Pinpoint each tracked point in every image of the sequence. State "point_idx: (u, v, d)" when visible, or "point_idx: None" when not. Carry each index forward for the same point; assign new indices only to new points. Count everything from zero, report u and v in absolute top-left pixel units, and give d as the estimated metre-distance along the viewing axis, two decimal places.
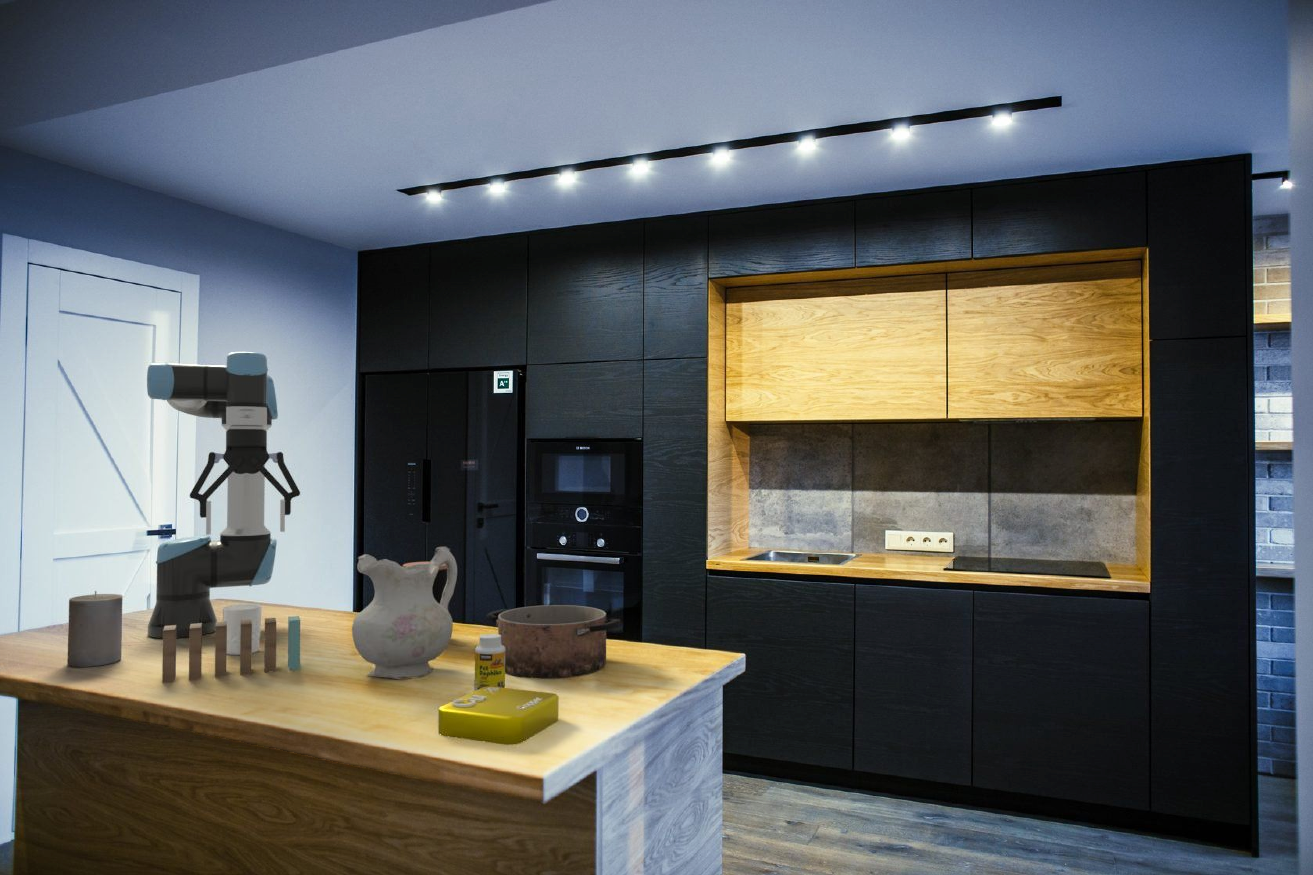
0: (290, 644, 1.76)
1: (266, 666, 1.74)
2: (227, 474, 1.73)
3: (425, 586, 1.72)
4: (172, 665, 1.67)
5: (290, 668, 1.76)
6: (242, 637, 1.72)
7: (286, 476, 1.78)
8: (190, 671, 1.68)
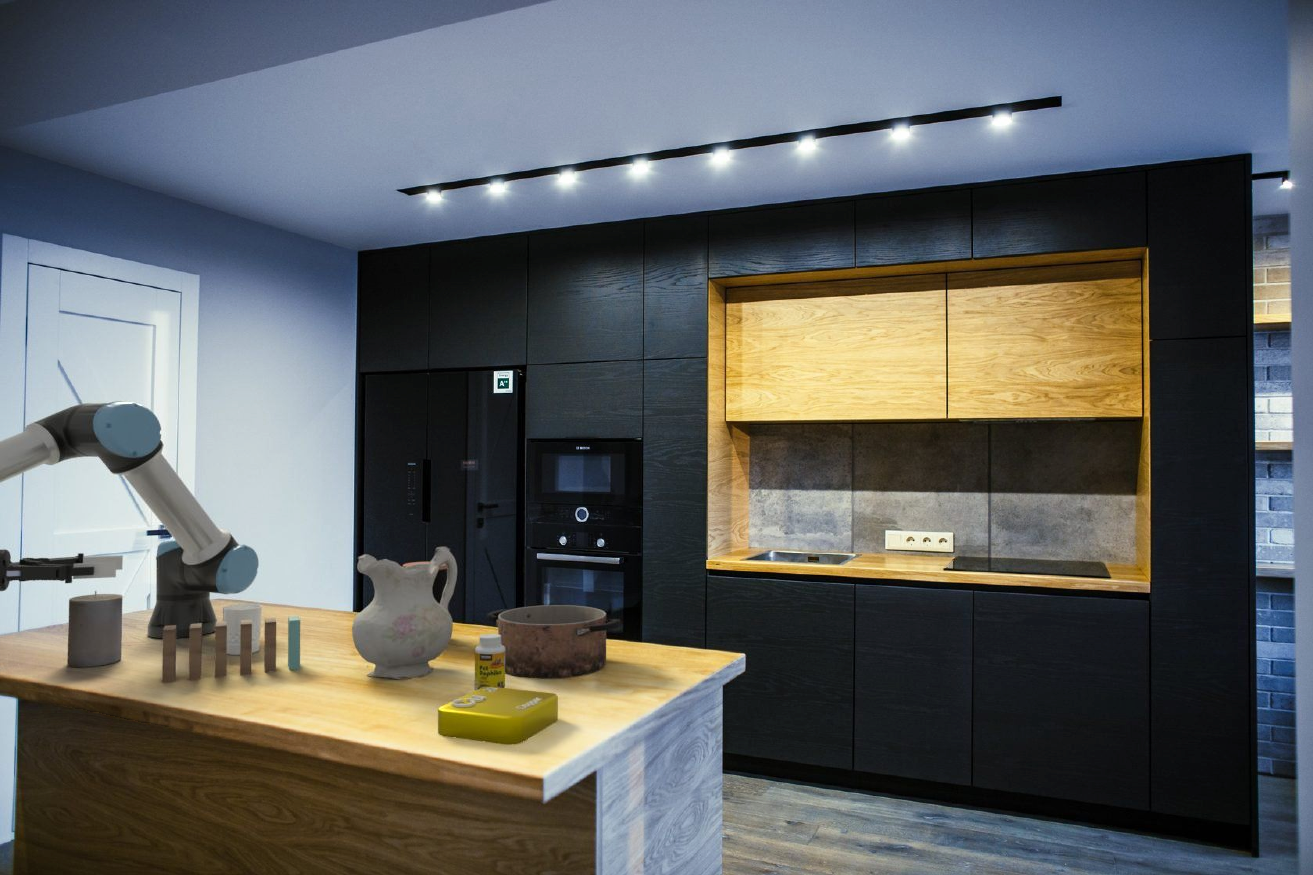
0: (290, 644, 1.76)
1: (266, 666, 1.74)
2: None
3: (425, 586, 1.72)
4: (172, 665, 1.67)
5: (290, 668, 1.76)
6: (242, 637, 1.72)
7: None
8: (190, 671, 1.68)
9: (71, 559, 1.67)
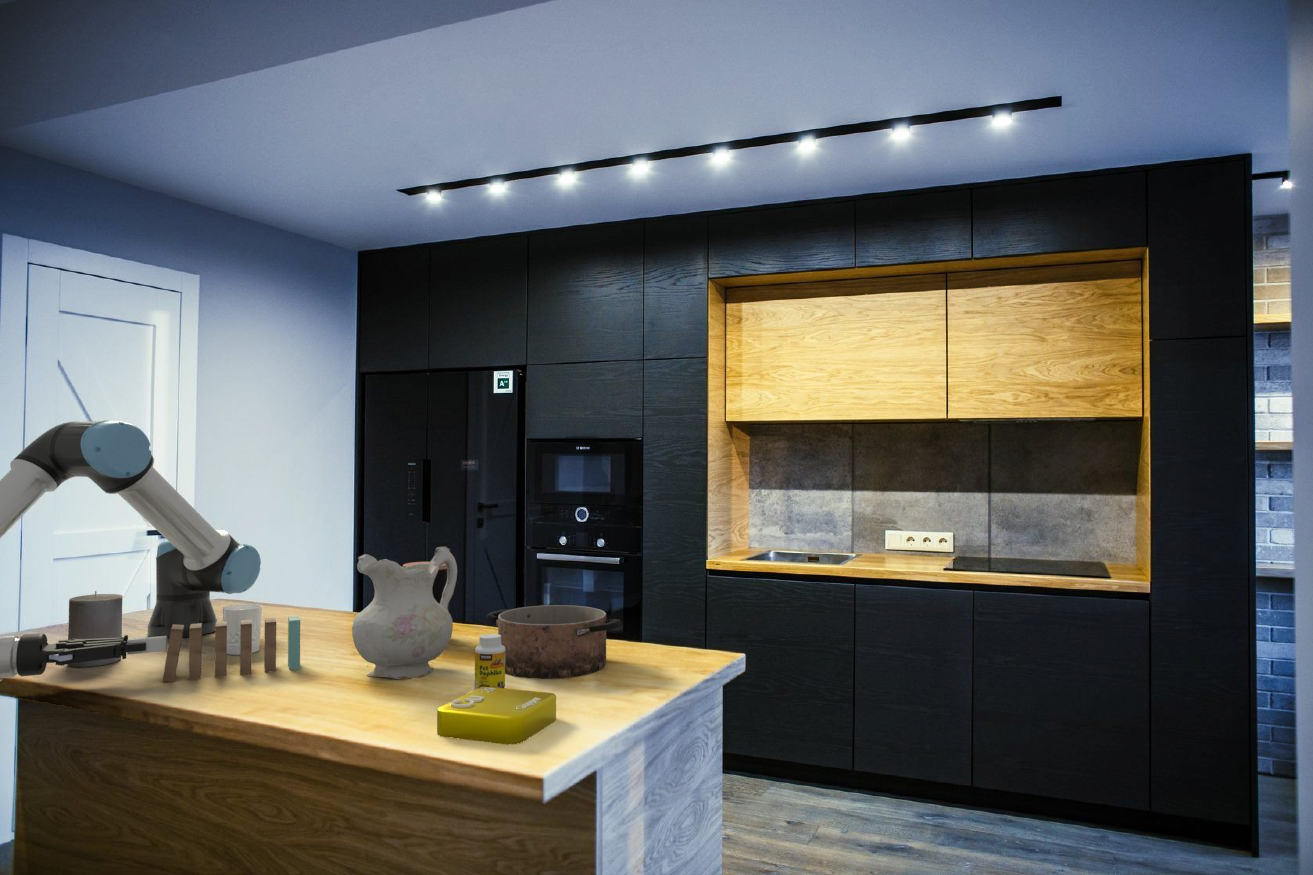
0: (290, 644, 1.76)
1: (266, 666, 1.74)
2: None
3: (425, 586, 1.72)
4: (175, 665, 1.67)
5: (290, 668, 1.76)
6: (242, 637, 1.72)
7: None
8: (190, 671, 1.68)
9: (111, 642, 1.65)
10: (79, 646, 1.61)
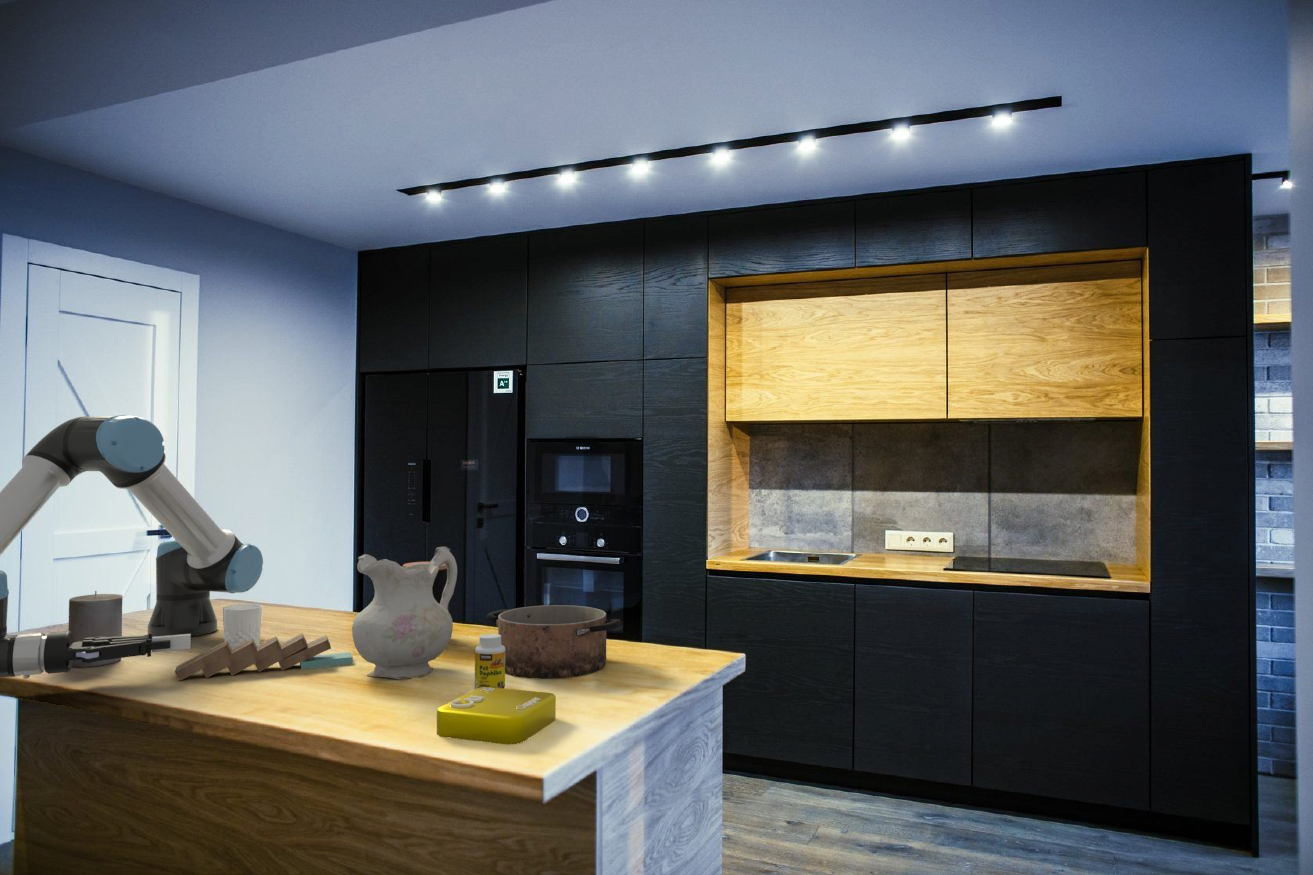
0: (328, 660, 1.79)
1: (284, 660, 1.76)
2: None
3: (425, 586, 1.72)
4: (195, 670, 1.69)
5: (302, 662, 1.77)
6: (291, 645, 1.76)
7: None
8: (210, 666, 1.70)
9: (136, 639, 1.67)
10: (105, 644, 1.63)
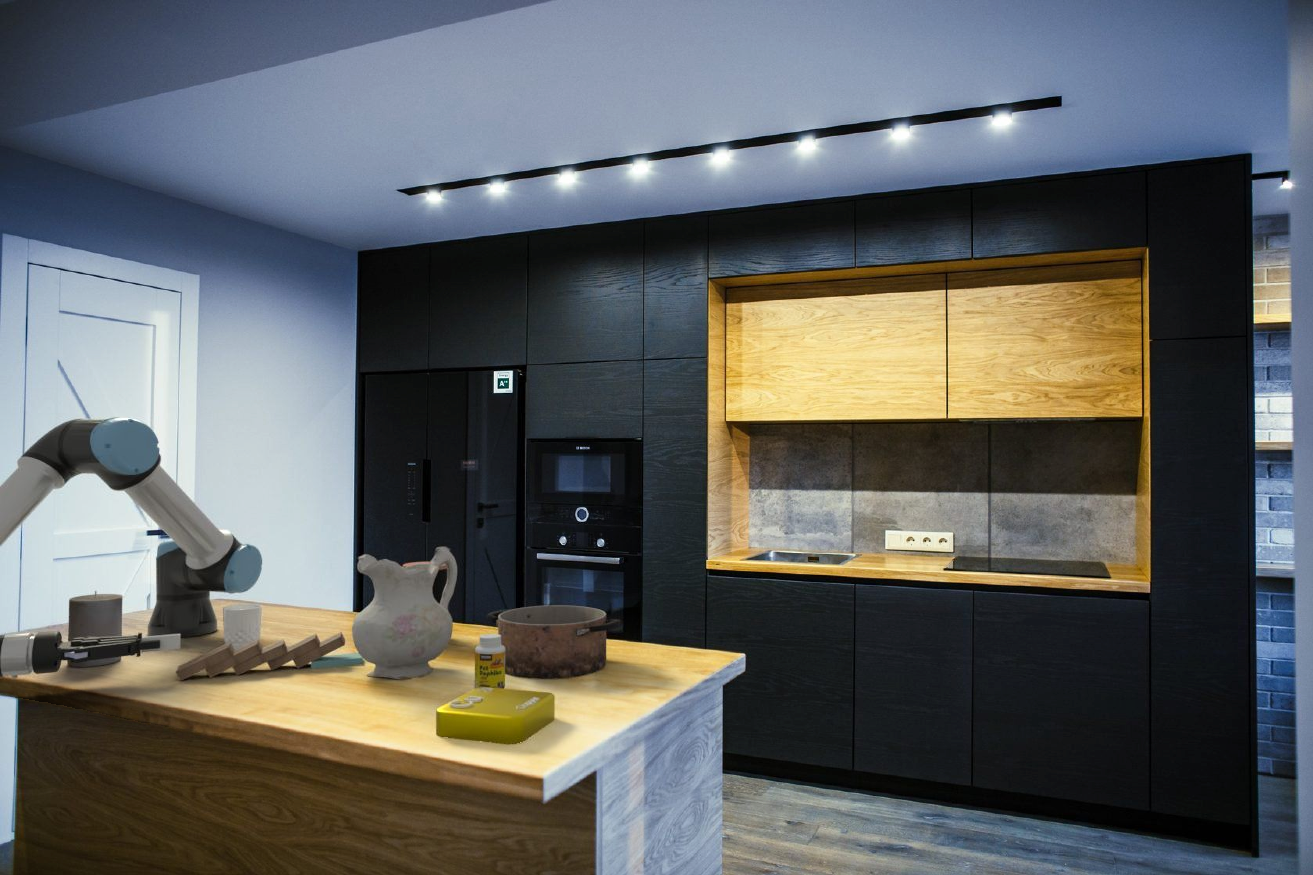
0: (337, 660, 1.79)
1: (299, 658, 1.77)
2: None
3: (425, 586, 1.72)
4: (196, 671, 1.68)
5: (312, 662, 1.78)
6: (303, 645, 1.77)
7: None
8: (214, 665, 1.70)
9: (125, 639, 1.66)
10: (94, 644, 1.62)
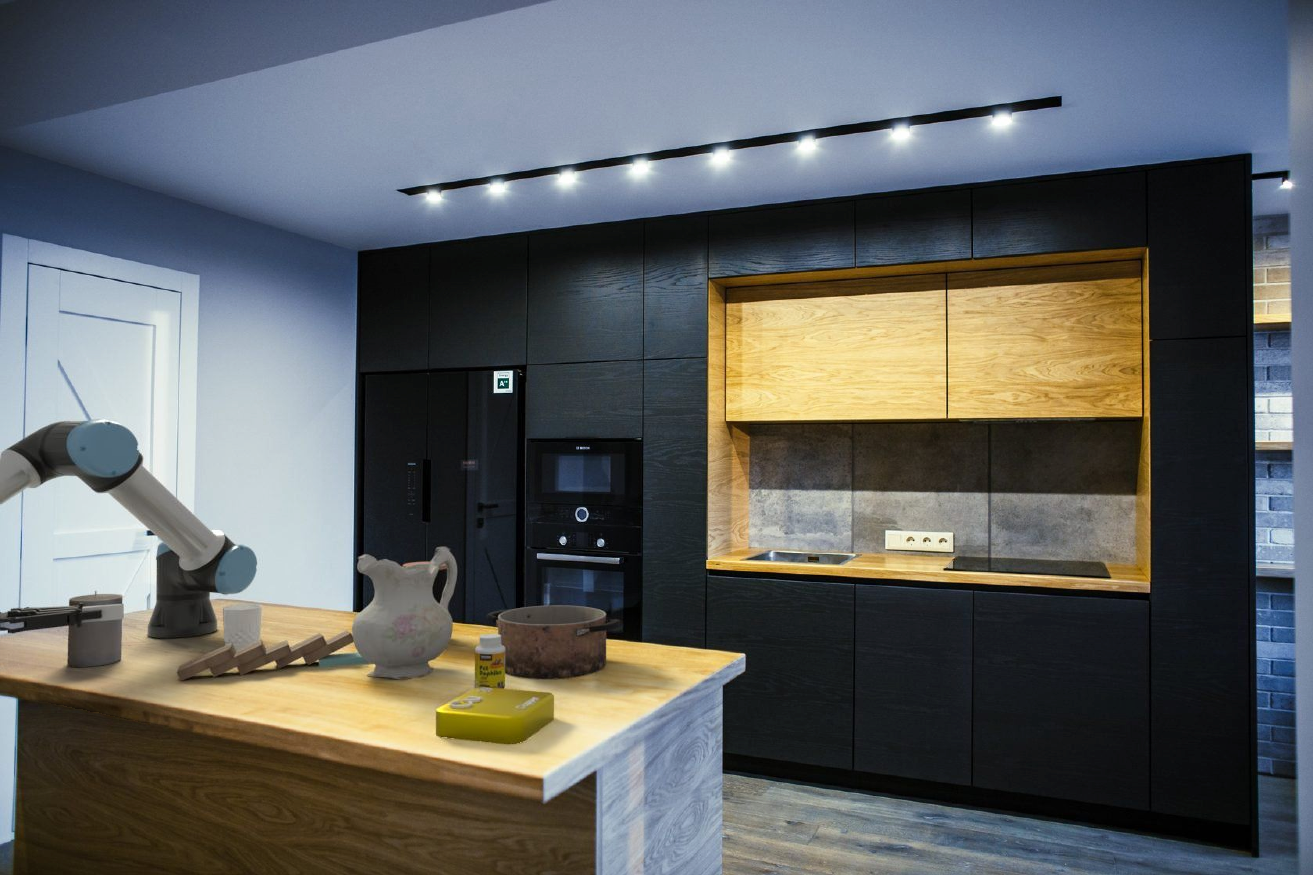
0: (345, 659, 1.81)
1: (310, 654, 1.79)
2: None
3: (425, 586, 1.72)
4: (196, 672, 1.68)
5: (320, 661, 1.79)
6: (311, 643, 1.79)
7: None
8: (218, 665, 1.70)
9: (66, 610, 1.62)
10: (32, 614, 1.58)
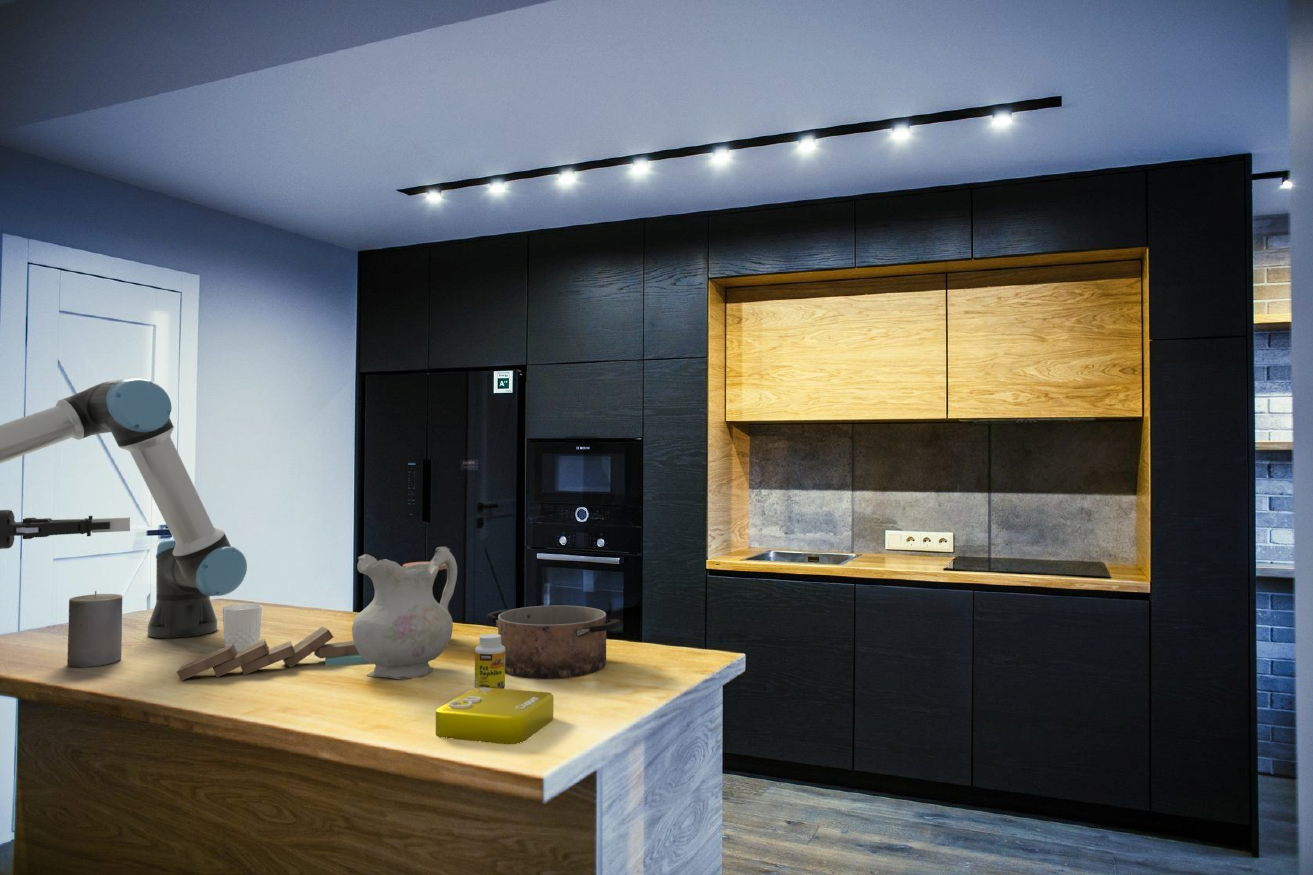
0: (351, 658, 1.81)
1: (326, 649, 1.81)
2: (50, 534, 1.73)
3: (425, 586, 1.72)
4: (196, 672, 1.68)
5: (326, 660, 1.80)
6: (318, 638, 1.81)
7: (57, 534, 1.69)
8: (221, 665, 1.70)
9: (76, 521, 1.74)
10: (45, 522, 1.70)
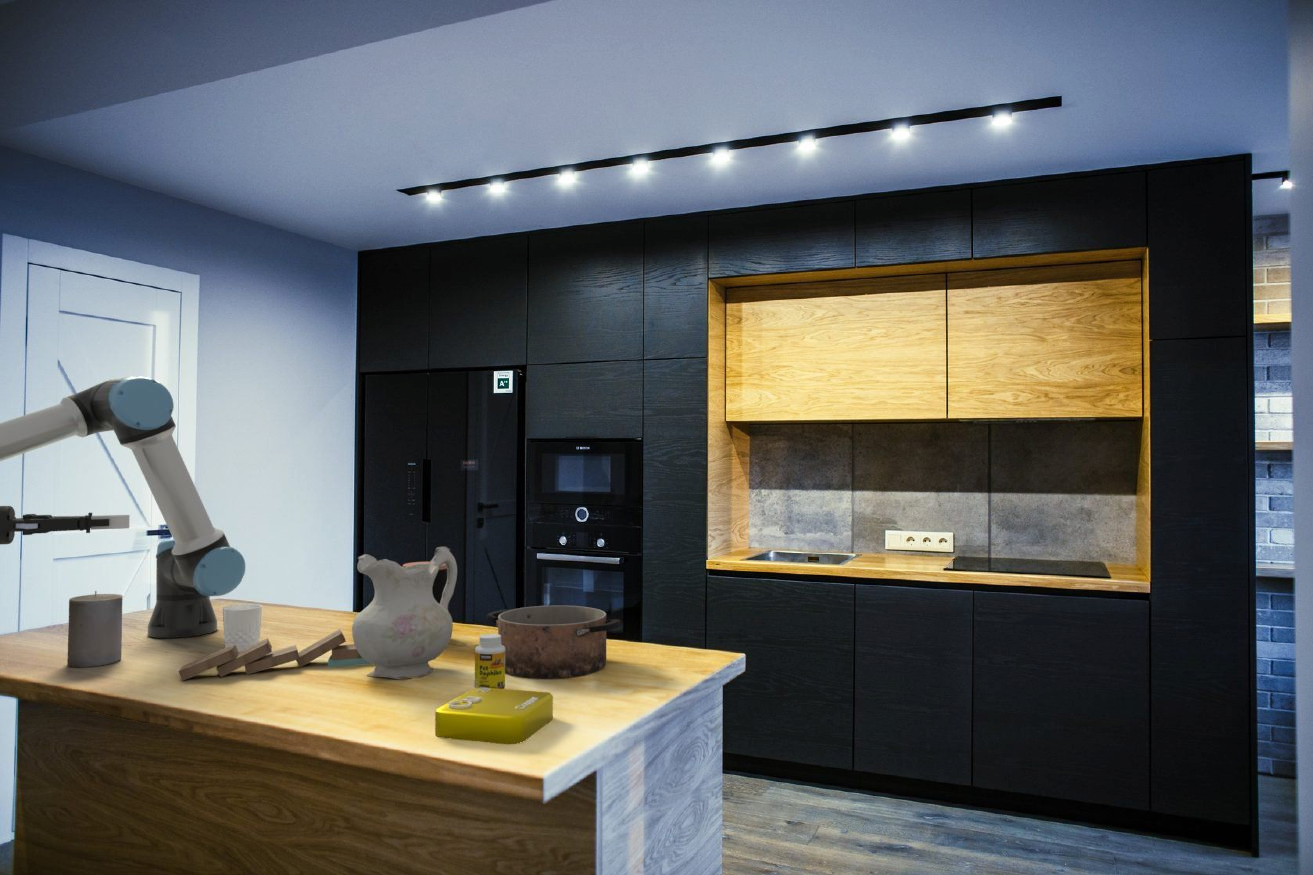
0: (354, 659, 1.80)
1: (338, 651, 1.80)
2: None
3: (425, 586, 1.72)
4: (198, 672, 1.68)
5: (329, 661, 1.79)
6: (330, 641, 1.81)
7: (56, 530, 1.70)
8: (225, 665, 1.71)
9: None
10: (45, 518, 1.71)
